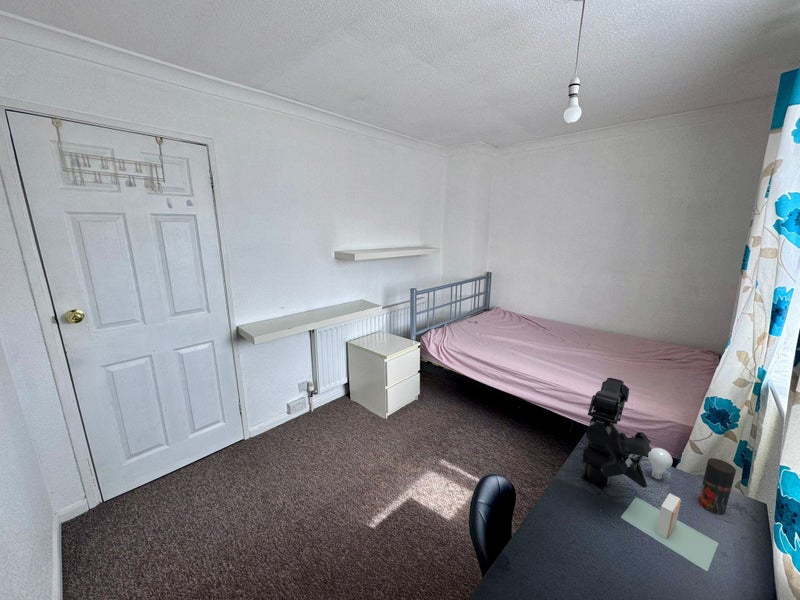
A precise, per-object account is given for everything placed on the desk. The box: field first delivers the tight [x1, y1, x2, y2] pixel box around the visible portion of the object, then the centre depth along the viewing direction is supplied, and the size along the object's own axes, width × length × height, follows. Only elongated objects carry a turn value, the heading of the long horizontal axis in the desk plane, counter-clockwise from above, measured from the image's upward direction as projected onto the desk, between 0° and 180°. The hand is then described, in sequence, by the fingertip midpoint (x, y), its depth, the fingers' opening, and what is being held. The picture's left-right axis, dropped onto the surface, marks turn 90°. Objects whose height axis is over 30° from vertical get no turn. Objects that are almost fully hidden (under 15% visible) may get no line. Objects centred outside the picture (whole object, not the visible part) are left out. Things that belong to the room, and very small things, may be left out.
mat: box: [620, 496, 719, 572], centre depth 91 cm, size 19×12×1 cm, turn 37°
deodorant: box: [697, 457, 737, 516], centre depth 96 cm, size 6×6×15 cm
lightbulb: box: [647, 447, 673, 480], centre depth 109 cm, size 6×6×11 cm
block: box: [656, 492, 682, 539], centre depth 90 cm, size 3×7×9 cm, turn 127°
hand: (645, 486), depth 94 cm, fingers closed
